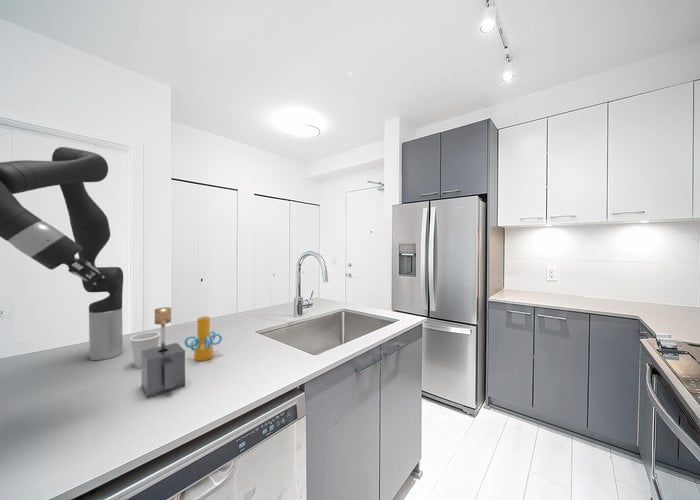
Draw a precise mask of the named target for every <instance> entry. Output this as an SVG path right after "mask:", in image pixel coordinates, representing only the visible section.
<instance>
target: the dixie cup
mask: <svg viewBox="0 0 700 500" xmlns="http://www.w3.org/2000/svg"><path fill="white" fill-rule="evenodd" d="M160 336H161V332H158V331H148V332H141V333H138V334H135V335H132V336H130V338H129V340H130V343H131V348H132V354H133V360H134V361H133V362H134V366H135V368H139V369H140V368H141V369H142V362H141V351H142V350H147V349H151V348H156V347H159V340H160Z"/></svg>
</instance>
